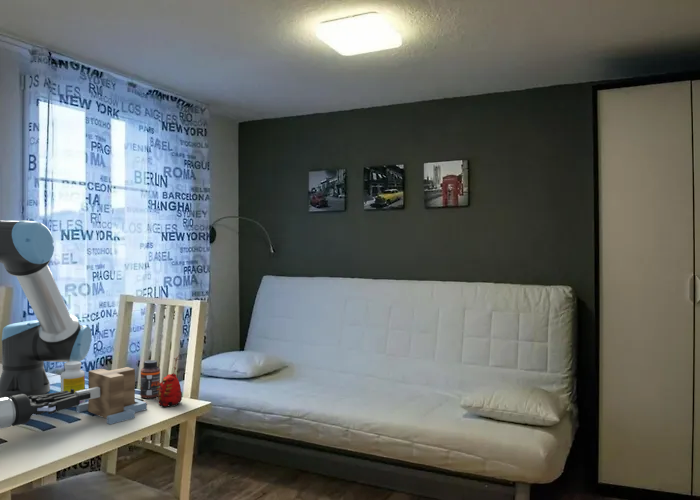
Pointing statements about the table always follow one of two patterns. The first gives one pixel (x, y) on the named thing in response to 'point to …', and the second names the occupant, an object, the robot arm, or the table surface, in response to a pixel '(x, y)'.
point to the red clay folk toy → (170, 390)
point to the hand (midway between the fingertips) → (98, 391)
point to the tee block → (111, 390)
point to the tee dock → (127, 414)
